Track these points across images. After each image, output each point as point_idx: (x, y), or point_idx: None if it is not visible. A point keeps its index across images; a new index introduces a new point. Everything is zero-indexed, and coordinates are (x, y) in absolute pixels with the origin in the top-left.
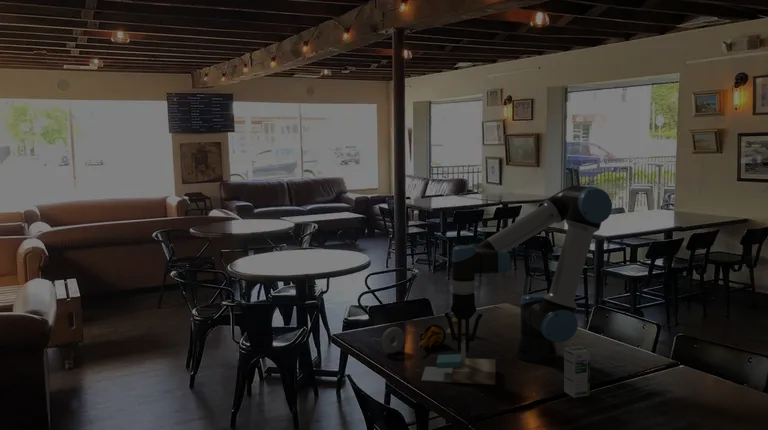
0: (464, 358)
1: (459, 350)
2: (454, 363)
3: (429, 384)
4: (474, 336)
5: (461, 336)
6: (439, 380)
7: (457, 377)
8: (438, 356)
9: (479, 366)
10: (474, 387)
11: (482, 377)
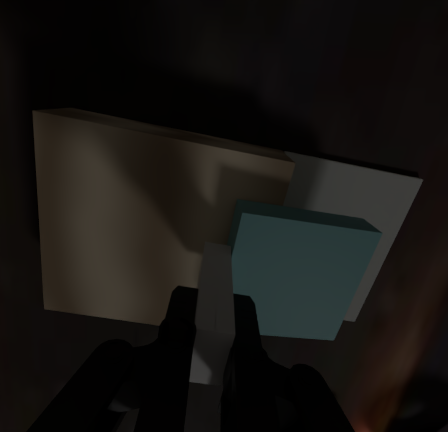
0: (209, 253)
1: (241, 299)
2: (276, 214)
3: (396, 130)
4: (76, 384)
5: (221, 422)
6: (341, 164)
7: (259, 149)
8: (340, 321)
9: (128, 218)
10: (180, 71)
11: (125, 123)
